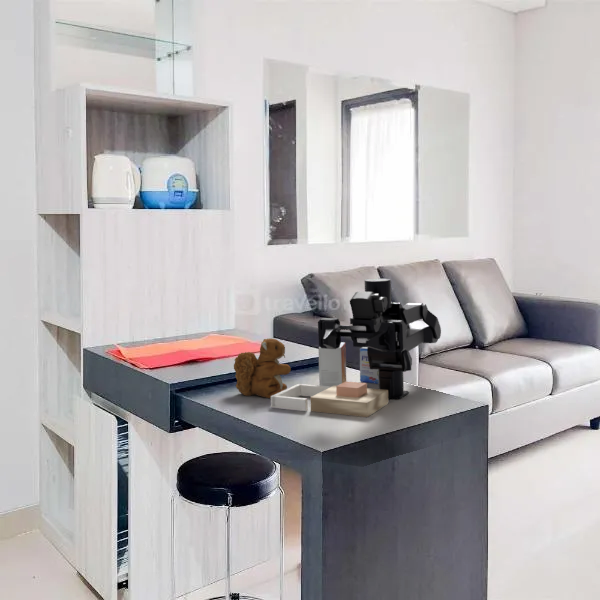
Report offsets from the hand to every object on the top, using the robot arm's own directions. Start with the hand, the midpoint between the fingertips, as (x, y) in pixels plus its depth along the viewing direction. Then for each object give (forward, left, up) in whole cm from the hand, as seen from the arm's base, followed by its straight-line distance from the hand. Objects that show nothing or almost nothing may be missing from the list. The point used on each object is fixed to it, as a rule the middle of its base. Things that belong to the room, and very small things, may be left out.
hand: (344, 342), depth 143 cm
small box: (-28, -16, -17) cm, 37 cm away
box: (-12, -16, -16) cm, 26 cm away
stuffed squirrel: (-16, -29, -17) cm, 37 cm away
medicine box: (-37, -8, -17) cm, 42 cm away
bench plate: (-12, -5, -16) cm, 21 cm away
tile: (-12, -4, -13) cm, 19 cm away
